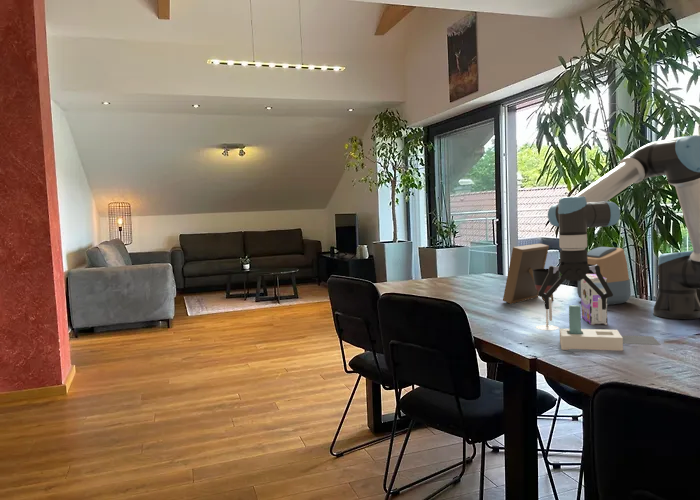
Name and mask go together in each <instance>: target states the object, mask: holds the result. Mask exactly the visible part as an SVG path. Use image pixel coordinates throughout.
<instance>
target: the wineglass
mask: <svg viewBox="0 0 700 500" xmlns="http://www.w3.org/2000/svg"><path fill="white" fill-rule="evenodd" d="M548 272H549V268H544V269H535V270H533V278H534V284H535V287H536V289H537V290H538V291H539V290H540V288H541V286H542V284H543V282H544V280H545V278H546V276H547V274H548ZM560 274H561V273H560V272H559V270H557V271H556V273H553V275H552V278H551V280H550V282H549V284H548V286H547V287H546V289H545V291H544V293H545V294H546V293H547V291H548V290H549V289H550V288H551V287H552V286H553V285H554V284H555V282H556V281H557V280H558V279H559V278H560V276H561V275H560ZM557 290H558V288H557V289H556V290H555V292H556V291H557ZM535 328H536V329H538V330H542V331H555V330H560V327H559V326H557V325H552V324H551V325H549V309H545V324H543V325H536V327H535Z"/></svg>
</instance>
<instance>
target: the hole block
mask: <svg viewBox="0 0 700 500" xmlns="http://www.w3.org/2000/svg"><path fill="white" fill-rule="evenodd" d="M622 336H623V335H621V333H620V332H619V330H618V329H600V328H599V329H595V328H581V334H569V328H559V343H560V348H561V350H562V351H563V350H564V351H570V350H597V351H600V350H601V351H624V344H623V337H622Z"/></svg>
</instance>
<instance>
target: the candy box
mask: <svg viewBox="0 0 700 500" xmlns="http://www.w3.org/2000/svg"><path fill="white" fill-rule="evenodd" d="M586 276H587V277H588V278H589V279H590V280H591V281H592V282H593V283H594V284H595V285H596V286H597V287H598V288H599V289H600V290H601V291H602V292H603V293H606V291H605V289H604V288H603V286H602V284H601V282H600V281H599V279H598V277H597V275H596V274H586ZM603 278H604V277H603ZM604 280H605V281H606V283H607V278H604ZM598 298H601V297H600V296H599V295H598V294H597V292H596V291H595V290H594V289H593V288H592V287H591V286H590V285H589V284H588V283H587V282H586V281H585V280H584V279H582V280H581V299H580V303H581V304H580V306H581V319H583V320H584V321H585V322H587V323H588V324H589V325H590V326H608V325H609V324H608V322H609V321H608V305H607V298H606V309H605V310H602V321H599V320H598Z"/></svg>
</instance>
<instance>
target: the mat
mask: <svg viewBox="0 0 700 500" xmlns="http://www.w3.org/2000/svg"><path fill="white" fill-rule="evenodd" d="M621 336H622V337H623V345H624V344H625V345H626V344H627V345H656V346H658V345H660V346H661V343H660V342H659V341H658V340H657V339H656V338H655V337H654V336H652V335H651V336H649V335H647V336H646V335H645V336H644V335H621Z"/></svg>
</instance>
